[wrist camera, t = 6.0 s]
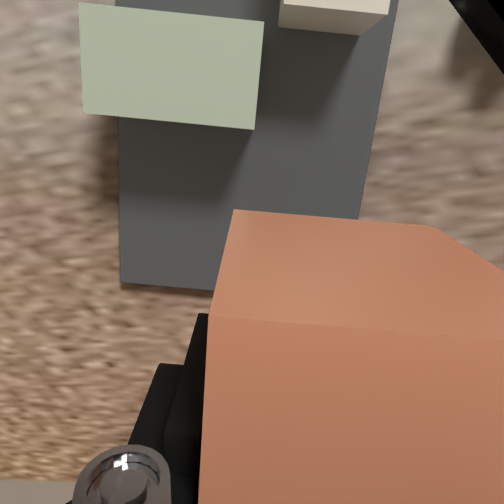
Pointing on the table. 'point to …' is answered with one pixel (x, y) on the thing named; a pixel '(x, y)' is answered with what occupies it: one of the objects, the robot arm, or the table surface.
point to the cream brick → (332, 15)
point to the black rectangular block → (485, 24)
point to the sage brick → (170, 65)
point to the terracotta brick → (352, 366)
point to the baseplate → (251, 147)
